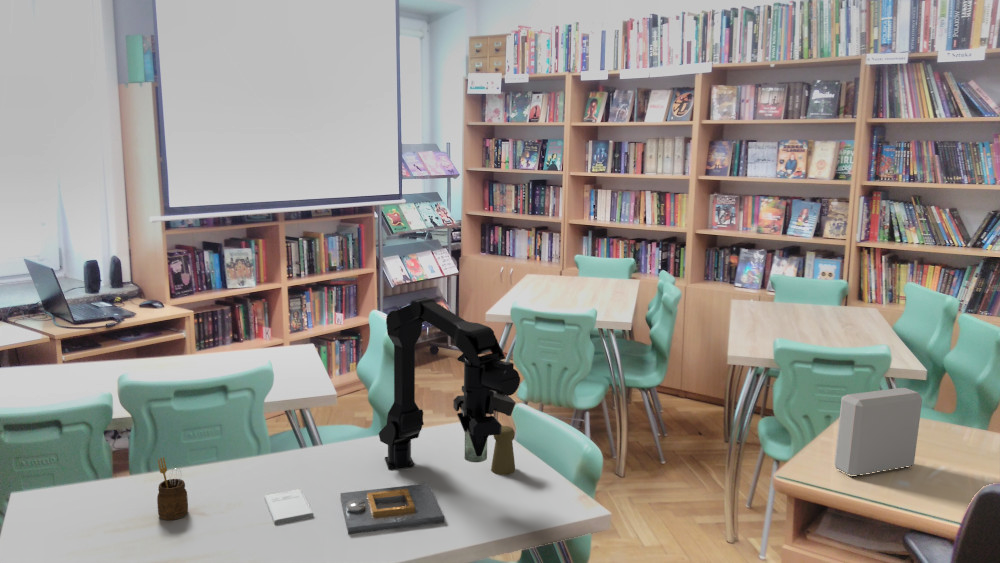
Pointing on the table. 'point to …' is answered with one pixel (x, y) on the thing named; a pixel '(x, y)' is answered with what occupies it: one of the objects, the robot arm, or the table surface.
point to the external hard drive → (288, 506)
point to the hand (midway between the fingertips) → (475, 451)
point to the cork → (504, 452)
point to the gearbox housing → (369, 518)
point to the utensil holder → (171, 496)
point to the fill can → (473, 451)
